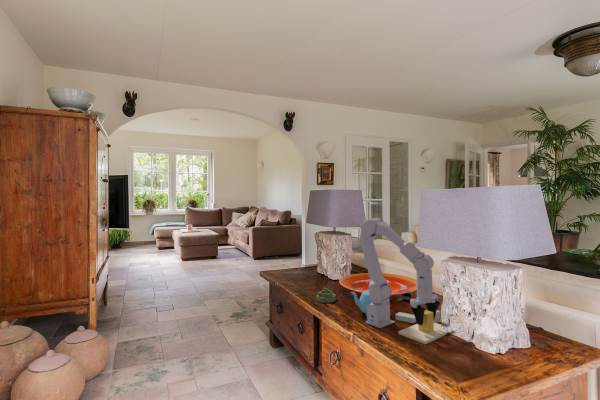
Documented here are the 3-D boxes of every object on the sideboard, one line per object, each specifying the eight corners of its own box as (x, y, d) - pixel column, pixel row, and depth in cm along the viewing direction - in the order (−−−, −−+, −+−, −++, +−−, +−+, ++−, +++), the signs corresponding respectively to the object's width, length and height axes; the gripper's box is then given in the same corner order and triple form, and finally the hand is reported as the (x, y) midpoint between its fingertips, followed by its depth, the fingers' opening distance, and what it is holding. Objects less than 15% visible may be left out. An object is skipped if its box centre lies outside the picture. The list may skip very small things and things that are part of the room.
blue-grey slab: (417, 321, 145) (417, 315, 145) (413, 324, 142) (413, 318, 142) (399, 317, 150) (399, 312, 150) (395, 320, 147) (395, 314, 147)
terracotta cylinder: (417, 311, 156) (417, 302, 156) (408, 308, 160) (407, 300, 160) (423, 309, 159) (423, 300, 159) (414, 306, 163) (414, 298, 163)
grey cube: (434, 324, 140) (434, 313, 140) (424, 321, 144) (424, 310, 144) (440, 321, 143) (440, 311, 143) (431, 318, 146) (430, 308, 146)
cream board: (425, 344, 122) (425, 341, 122) (398, 333, 132) (398, 331, 132) (453, 331, 133) (453, 328, 133) (426, 322, 142) (426, 320, 142)
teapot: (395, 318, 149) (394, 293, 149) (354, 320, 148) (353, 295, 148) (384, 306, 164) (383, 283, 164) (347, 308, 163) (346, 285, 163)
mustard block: (427, 333, 129) (427, 314, 129) (418, 329, 133) (417, 311, 133) (433, 330, 132) (433, 312, 132) (424, 327, 135) (424, 309, 135)
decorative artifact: (321, 304, 171) (339, 301, 175) (321, 290, 171) (338, 287, 175) (313, 299, 181) (330, 296, 184) (312, 285, 181) (329, 283, 184)
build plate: (393, 302, 172) (393, 293, 171) (396, 298, 178) (395, 289, 178) (419, 304, 166) (419, 295, 166) (421, 300, 173) (420, 291, 173)
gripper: (422, 293, 125) (423, 329, 125) (444, 285, 133) (445, 320, 133) (406, 289, 130) (407, 324, 131) (428, 282, 139) (429, 315, 139)
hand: (425, 321), depth 132 cm, fingers open, 7 cm apart
